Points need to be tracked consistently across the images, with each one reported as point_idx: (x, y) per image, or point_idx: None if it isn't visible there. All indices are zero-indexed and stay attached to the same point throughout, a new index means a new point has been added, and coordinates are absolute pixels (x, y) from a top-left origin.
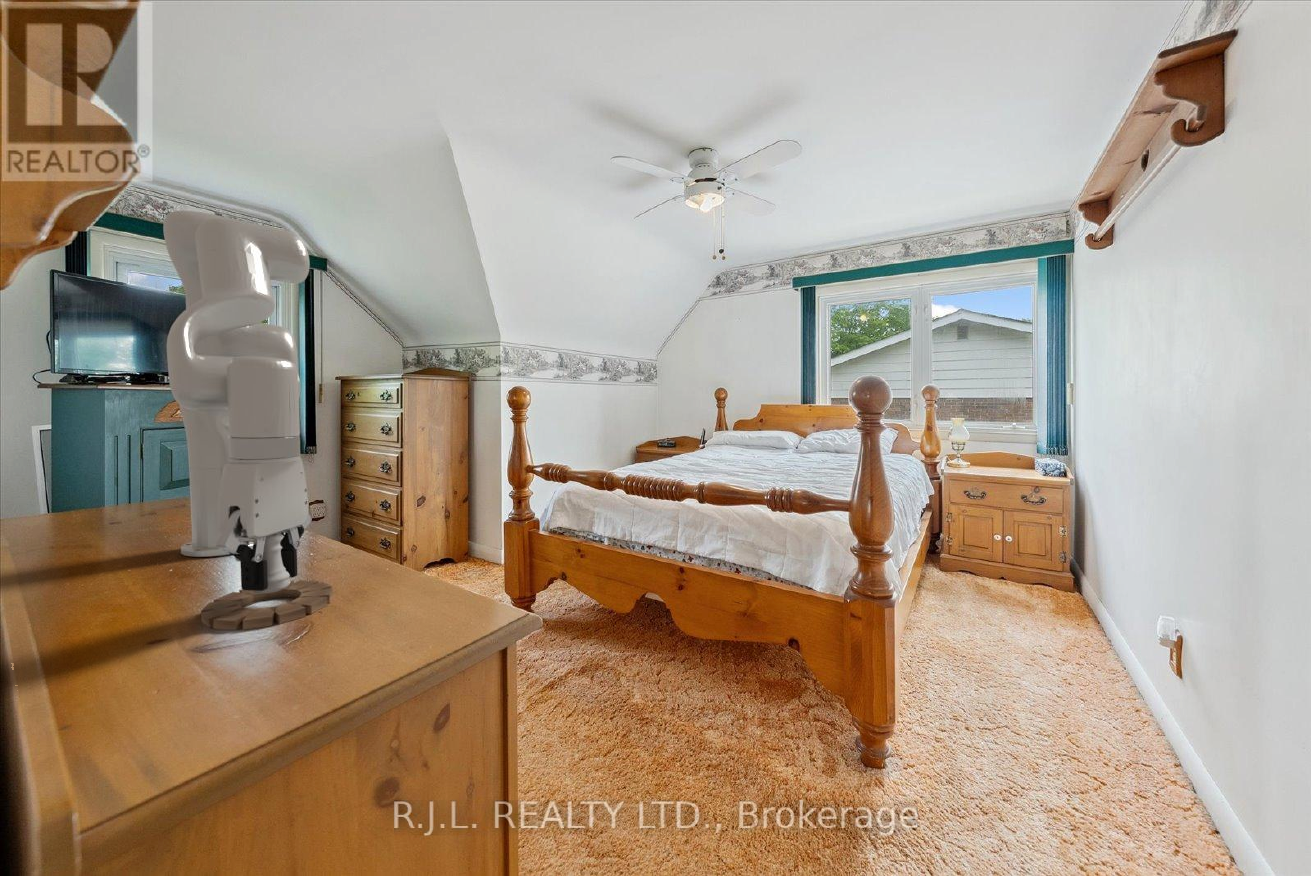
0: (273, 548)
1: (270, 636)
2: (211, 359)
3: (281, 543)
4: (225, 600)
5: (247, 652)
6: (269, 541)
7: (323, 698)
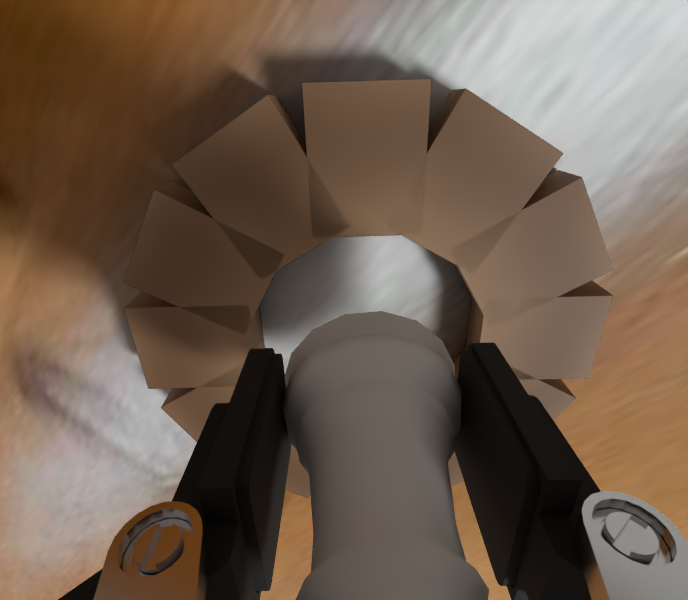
0: None
1: (171, 474)
2: None
3: (573, 586)
4: (310, 160)
5: (82, 487)
6: None
7: None
